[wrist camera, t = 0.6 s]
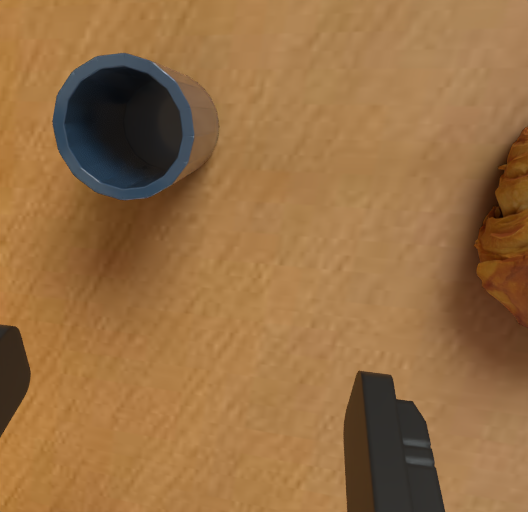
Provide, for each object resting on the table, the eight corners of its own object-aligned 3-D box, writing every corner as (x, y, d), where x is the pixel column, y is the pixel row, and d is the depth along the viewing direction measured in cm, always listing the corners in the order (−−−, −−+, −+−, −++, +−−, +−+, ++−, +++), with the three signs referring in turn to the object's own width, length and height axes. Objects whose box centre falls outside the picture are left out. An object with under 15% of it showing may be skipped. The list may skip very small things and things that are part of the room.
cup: (110, 77, 28) (38, 62, 20) (211, 66, 28) (182, 45, 19) (128, 180, 30) (69, 205, 21) (224, 170, 29) (202, 192, 21)
